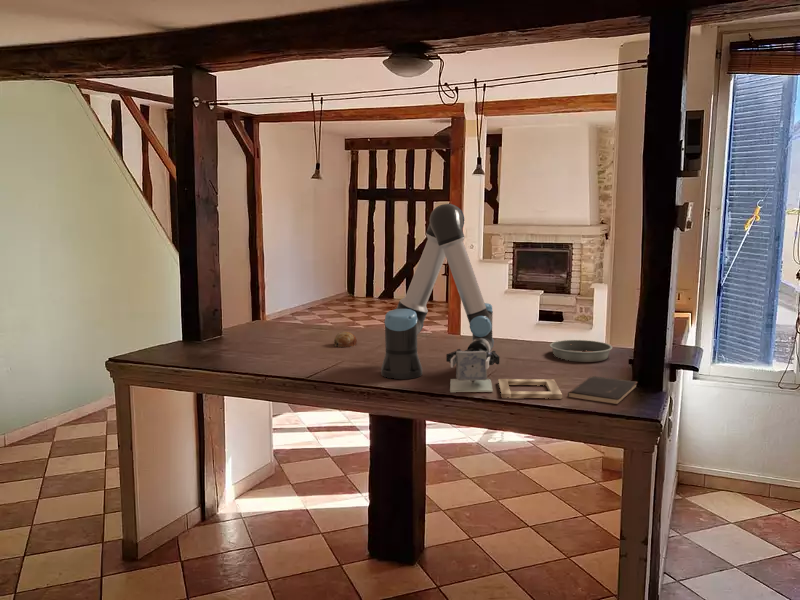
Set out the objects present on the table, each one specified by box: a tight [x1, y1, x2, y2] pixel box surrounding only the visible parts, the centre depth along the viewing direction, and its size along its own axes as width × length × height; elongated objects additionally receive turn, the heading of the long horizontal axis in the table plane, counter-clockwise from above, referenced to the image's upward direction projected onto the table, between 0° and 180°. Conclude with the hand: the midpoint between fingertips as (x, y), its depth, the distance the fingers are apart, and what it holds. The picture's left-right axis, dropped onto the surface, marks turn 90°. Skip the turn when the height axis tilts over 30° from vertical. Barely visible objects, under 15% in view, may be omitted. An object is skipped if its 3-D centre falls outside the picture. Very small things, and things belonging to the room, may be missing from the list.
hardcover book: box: [567, 375, 639, 405], centre depth 217 cm, size 16×23×2 cm
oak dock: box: [497, 378, 563, 400], centre depth 219 cm, size 19×18×2 cm
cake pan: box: [549, 339, 613, 363], centre depth 268 cm, size 25×25×4 cm
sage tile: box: [449, 378, 494, 393], centre depth 225 cm, size 14×14×1 cm
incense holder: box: [455, 350, 488, 383], centre depth 224 cm, size 10×8×10 cm
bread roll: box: [333, 331, 358, 348], centre depth 295 cm, size 10×10×8 cm
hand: (469, 364), depth 220 cm, fingers closed on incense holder, 11 cm apart
